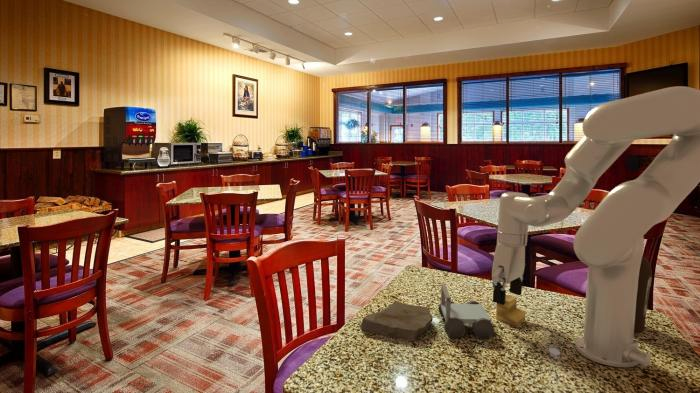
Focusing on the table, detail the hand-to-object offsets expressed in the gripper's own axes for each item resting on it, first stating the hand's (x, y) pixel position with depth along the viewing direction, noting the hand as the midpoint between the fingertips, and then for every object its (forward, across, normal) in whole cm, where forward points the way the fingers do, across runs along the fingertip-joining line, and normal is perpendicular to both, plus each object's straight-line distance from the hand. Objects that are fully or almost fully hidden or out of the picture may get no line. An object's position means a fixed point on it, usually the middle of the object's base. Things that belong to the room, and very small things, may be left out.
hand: (507, 298), depth 111 cm
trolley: (+6, +14, -5) cm, 16 cm away
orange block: (+6, 0, +1) cm, 6 cm away
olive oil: (+5, -18, +24) cm, 30 cm away
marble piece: (+7, +25, -17) cm, 31 cm away
